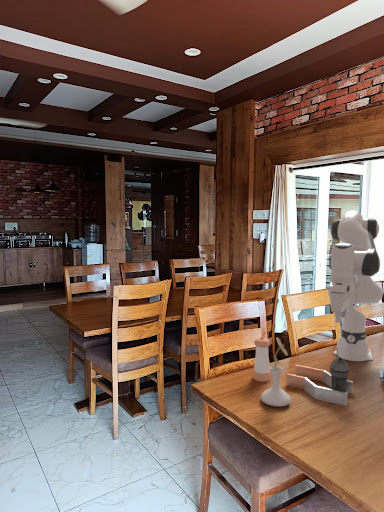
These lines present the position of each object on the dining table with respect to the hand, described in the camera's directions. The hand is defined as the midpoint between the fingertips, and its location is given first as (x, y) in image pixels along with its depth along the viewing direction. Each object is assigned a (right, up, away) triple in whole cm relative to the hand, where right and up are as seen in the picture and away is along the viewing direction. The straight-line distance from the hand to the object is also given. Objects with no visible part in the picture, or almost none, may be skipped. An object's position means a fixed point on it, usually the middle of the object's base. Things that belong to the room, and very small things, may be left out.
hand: (340, 319), depth 150 cm
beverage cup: (0, -32, +3) cm, 32 cm away
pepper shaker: (-27, -30, +21) cm, 46 cm away
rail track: (-6, -31, +10) cm, 33 cm away
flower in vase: (-26, -32, -1) cm, 41 cm away
